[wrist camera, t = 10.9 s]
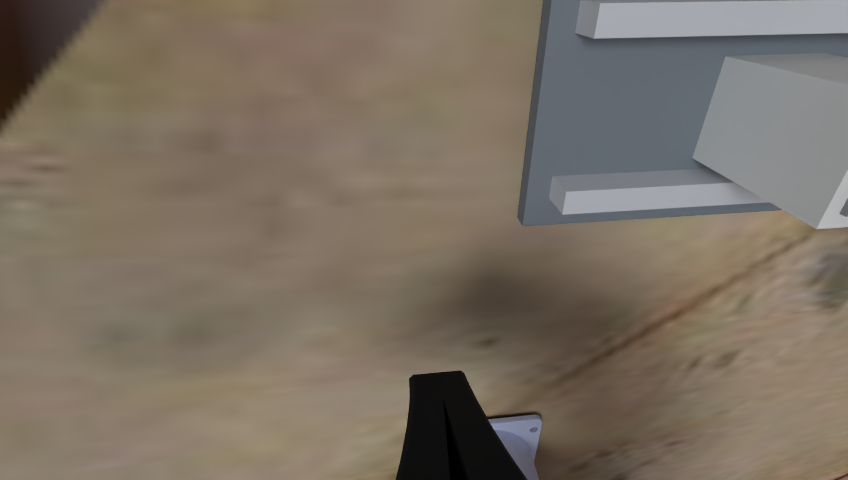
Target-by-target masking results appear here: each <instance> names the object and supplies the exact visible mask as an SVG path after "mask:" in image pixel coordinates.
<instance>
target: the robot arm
mask: <svg viewBox="0 0 848 480" xmlns="http://www.w3.org/2000/svg"><path fill="white" fill-rule="evenodd" d="M409 386H410V403H409V413H408V421H407V428H406V434H405V439H404V445H403V450H402V455H401V460H400V464H399V469H398V473H397V477H396V480H539V477H538V474H537V471H536V468H535V465H534V460H535V455H536V451H537V446H538V441H539V437H540V432H541V427H542V420H541V417H540V416H538V415H525V416H516V417H506V418H496V419H487V417H486V415H485V413H484V412H483V410H482V408H481V406H480V405H479V403H478V401H477V399H476V397H475V395H474V393H473V391H472V389H471V387H470V385H469V383H468V381H467V379H466V376H465V374H464V373H463V372H462V371H450V372H439V373H429V374H418V375H413V376H412V377H410V378H409Z"/></svg>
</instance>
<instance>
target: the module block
mask: <svg viewBox="0 0 848 480" xmlns="http://www.w3.org/2000/svg"><path fill="white" fill-rule="evenodd" d="M692 158H693V159H695V160H696V161H698V162H700V163H702V164H703V165H705V166H707V167H709V168H710V169H712V170H714V171H716V172H717V173H719V174H721V175H723V176H724V177H726V178H728V179H730V180H731V181H733V182H735V183H737V184H738V185H740V186H742V187H744V188H745V189H747V190H749V191H751V192H752V193H754V194H756V195H758V196H759V197H761V198H763V199H765V200H766V201H768V202H770V203H772V204H773V205H775V206H777V207H779V208H780V209H782V210H784V211H786V212H787V213H789V214H791V215H793V216H794V217H796V218H798V219H800V220H801V221H803V222H805V223H807V224H808V225H810V226H812V227H814V228H815V229H824V228H839V227H848V57H842V56H836V55H831V54H825V53H812V54H780V55H748V56H725V59H724V62H723V65H722V68H721V72H720V75H719V78H718V81H717V84H716V87H715V90H714V93H713V96H712V99H711V102H710V105H709V108H708V111H707V114H706V117H705V121H704V124H703V127H702V130H701V133H700V136H699V139H698V142H697V145H696V148H695V151H694V154H693V157H692Z"/></svg>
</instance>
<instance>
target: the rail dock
mask: <svg viewBox="0 0 848 480" xmlns="http://www.w3.org/2000/svg"><path fill="white" fill-rule="evenodd" d="M812 53H825V54H831V55H836V56H842V57H848V0H543V8H542V16H541V25H540V33H539V41H538V50H537V58H536V66H535V75H534V83H533V91H532V100H531V108H530V116H529V125H528V133H527V142H526V150H525V158H524V167H523V175H522V183H521V192H520V200H519V208H518V217H517V218H518V219H519V221H520V222H521V224H522V226H532V225H548V224H564V223H581V222H597V221H613V220H629V219H645V218H661V217H678V216H694V215H710V214H726V213H742V212H758V211H774V210H782V209H780V208H779V207H777V206H775V205H773V204H772V203H770V202H768V201H766V200H765V199H763V198H761V197H759V196H758V195H756V194H754V193H752V192H751V191H749V190H747V189H745V188H744V187H742V186H740V185H738V184H737V183H735V182H733V181H731V180H730V179H728V178H726V177H724V176H723V175H721V174H719V173H717V172H716V171H714V170H712V169H710V168H709V167H707V166H705V165H703V164H702V163H700V162H698V161H696V160H695V159H693V158H692V157H693V154H694V151H695V148H696V145H697V142H698V139H699V136H700V133H701V130H702V127H703V124H704V121H705V117H706V114H707V111H708V108H709V105H710V102H711V99H712V96H713V93H714V90H715V87H716V84H717V81H718V78H719V75H720V72H721V68H722V65H723V62H724V59H725V56H748V55H780V54H812Z"/></svg>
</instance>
